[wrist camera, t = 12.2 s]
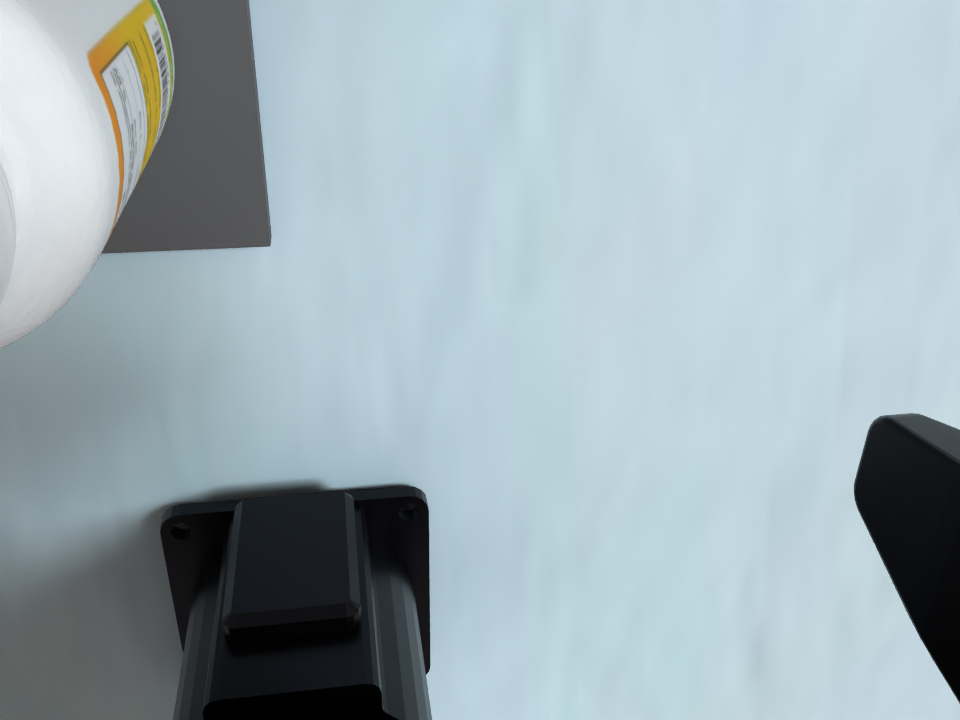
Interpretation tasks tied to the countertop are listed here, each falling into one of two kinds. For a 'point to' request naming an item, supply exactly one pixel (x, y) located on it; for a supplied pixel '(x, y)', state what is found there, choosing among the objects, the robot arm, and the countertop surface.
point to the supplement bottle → (72, 140)
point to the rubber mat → (203, 142)
